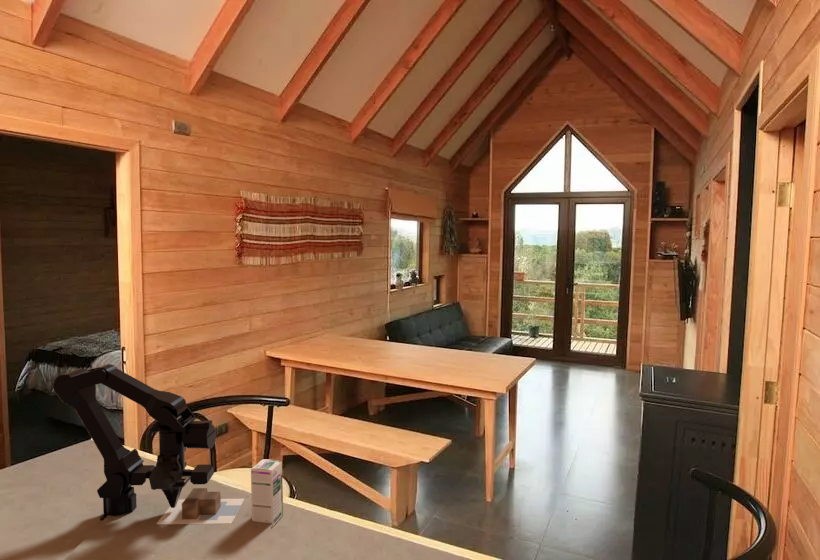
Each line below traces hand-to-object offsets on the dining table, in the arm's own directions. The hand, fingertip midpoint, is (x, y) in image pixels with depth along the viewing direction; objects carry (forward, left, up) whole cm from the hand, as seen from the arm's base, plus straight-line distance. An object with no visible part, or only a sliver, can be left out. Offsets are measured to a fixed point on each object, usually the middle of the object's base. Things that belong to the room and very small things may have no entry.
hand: (173, 507), depth 132 cm
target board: (+7, 0, -2) cm, 7 cm away
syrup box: (+24, -3, -2) cm, 24 cm away
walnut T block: (+7, 0, -1) cm, 7 cm away
